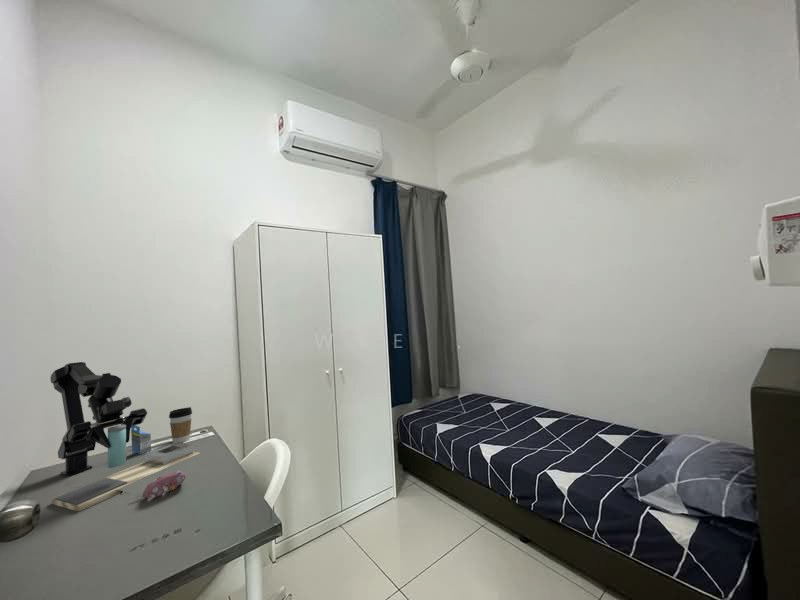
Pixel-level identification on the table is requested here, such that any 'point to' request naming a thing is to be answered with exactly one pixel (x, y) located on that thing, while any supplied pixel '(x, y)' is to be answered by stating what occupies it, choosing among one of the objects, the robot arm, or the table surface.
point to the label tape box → (140, 441)
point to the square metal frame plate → (168, 454)
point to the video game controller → (164, 483)
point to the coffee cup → (180, 424)
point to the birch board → (124, 475)
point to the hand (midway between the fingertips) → (118, 444)
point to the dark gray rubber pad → (90, 491)
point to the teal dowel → (117, 446)
